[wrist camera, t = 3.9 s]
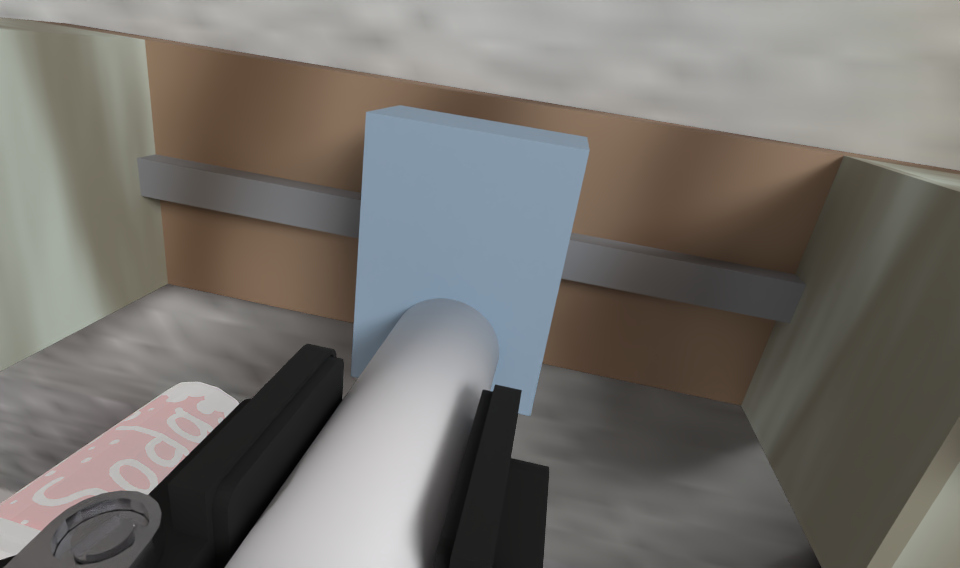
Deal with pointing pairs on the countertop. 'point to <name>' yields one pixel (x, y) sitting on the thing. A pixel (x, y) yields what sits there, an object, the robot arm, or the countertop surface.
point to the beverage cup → (117, 460)
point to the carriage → (428, 332)
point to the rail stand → (587, 269)
